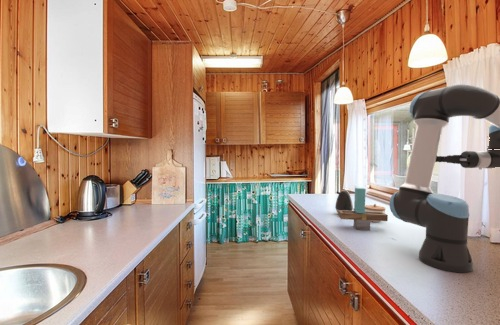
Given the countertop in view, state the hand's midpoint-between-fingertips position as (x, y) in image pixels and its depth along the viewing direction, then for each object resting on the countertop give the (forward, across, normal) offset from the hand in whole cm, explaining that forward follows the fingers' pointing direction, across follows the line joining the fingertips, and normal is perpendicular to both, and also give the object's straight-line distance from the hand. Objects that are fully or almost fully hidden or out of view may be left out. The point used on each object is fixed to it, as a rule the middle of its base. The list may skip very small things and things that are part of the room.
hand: (417, 158), depth 120 cm
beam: (+20, +10, -36) cm, 43 cm away
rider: (+22, +10, -31) cm, 39 cm away
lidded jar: (+8, +27, -36) cm, 46 cm away
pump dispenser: (+22, +39, -36) cm, 58 cm away
